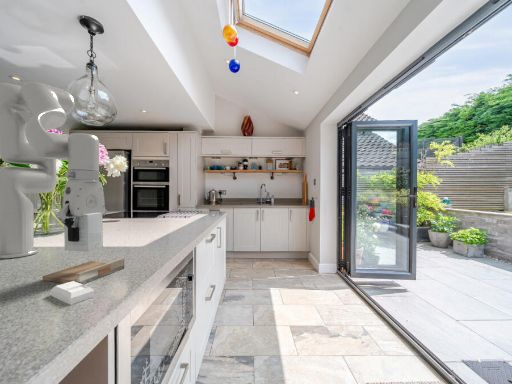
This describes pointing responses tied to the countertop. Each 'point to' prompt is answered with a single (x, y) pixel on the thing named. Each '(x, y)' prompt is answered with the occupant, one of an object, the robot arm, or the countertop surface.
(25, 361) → the countertop surface
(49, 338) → the countertop surface
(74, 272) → the shelf board
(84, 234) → the small box
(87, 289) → the soap bar
